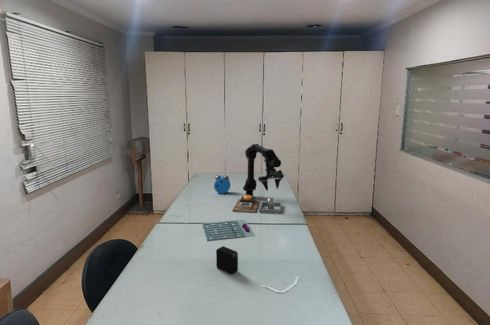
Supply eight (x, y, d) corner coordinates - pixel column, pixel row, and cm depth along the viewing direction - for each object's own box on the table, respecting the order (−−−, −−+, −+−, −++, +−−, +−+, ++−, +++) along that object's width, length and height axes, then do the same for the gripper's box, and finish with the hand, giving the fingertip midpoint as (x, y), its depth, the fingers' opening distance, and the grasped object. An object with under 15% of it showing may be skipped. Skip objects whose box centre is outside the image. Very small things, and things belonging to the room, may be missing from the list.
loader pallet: (238, 200, 255) (238, 195, 254) (259, 201, 252) (259, 196, 251) (232, 211, 232) (232, 205, 231) (255, 212, 229) (255, 207, 228)
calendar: (201, 224, 212) (201, 220, 212) (244, 219, 219) (244, 216, 218) (207, 242, 186) (207, 238, 186) (255, 236, 193) (255, 233, 192)
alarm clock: (230, 192, 276) (230, 174, 273) (229, 194, 270) (229, 176, 267) (215, 191, 277) (214, 174, 274) (214, 193, 271) (213, 176, 268)
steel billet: (267, 208, 239) (268, 197, 237) (273, 208, 238) (274, 197, 236) (267, 210, 234) (267, 199, 233) (273, 210, 234) (273, 199, 232)
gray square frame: (261, 204, 245) (261, 201, 244) (281, 206, 243) (281, 202, 242) (258, 212, 230) (258, 209, 229) (280, 213, 227) (280, 210, 227)
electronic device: (222, 264, 161) (222, 245, 159) (238, 271, 155) (237, 251, 153) (216, 268, 158) (216, 248, 156) (232, 275, 152) (231, 255, 149)
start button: (244, 197, 251) (244, 194, 251) (252, 198, 250) (252, 195, 250) (242, 200, 245) (242, 197, 244) (251, 201, 244) (251, 197, 243)
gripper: (266, 168, 218) (269, 191, 219) (287, 165, 229) (290, 188, 229) (256, 169, 228) (259, 191, 228) (277, 166, 238) (279, 187, 238)
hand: (272, 189), depth 231 cm, fingers open, 9 cm apart
